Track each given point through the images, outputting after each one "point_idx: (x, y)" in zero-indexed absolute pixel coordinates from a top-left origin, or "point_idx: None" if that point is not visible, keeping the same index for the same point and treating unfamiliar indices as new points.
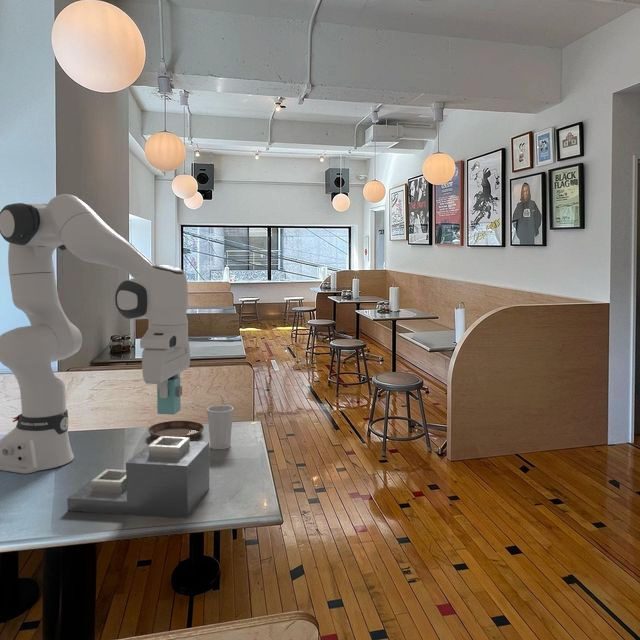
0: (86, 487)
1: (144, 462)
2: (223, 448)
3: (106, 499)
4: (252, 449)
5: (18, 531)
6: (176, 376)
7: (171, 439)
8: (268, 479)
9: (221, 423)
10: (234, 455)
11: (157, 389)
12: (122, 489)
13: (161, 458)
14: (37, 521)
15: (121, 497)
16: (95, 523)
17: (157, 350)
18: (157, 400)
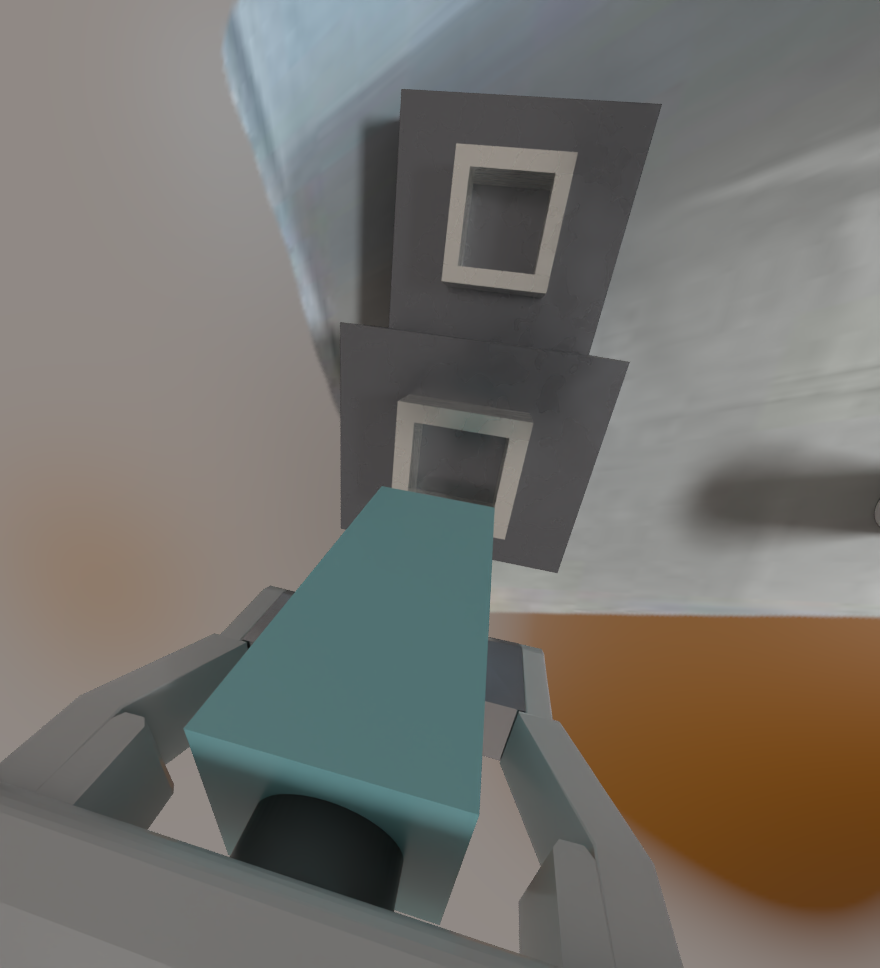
0: (493, 119)
1: (351, 394)
2: (878, 516)
3: (399, 255)
4: (828, 593)
5: (281, 11)
6: (527, 898)
7: (501, 471)
8: (575, 612)
9: None
10: (788, 547)
11: (284, 606)
12: (453, 286)
13: (393, 444)
14: (343, 39)
15: (414, 300)
16: (350, 258)
17: None
18: (343, 534)
